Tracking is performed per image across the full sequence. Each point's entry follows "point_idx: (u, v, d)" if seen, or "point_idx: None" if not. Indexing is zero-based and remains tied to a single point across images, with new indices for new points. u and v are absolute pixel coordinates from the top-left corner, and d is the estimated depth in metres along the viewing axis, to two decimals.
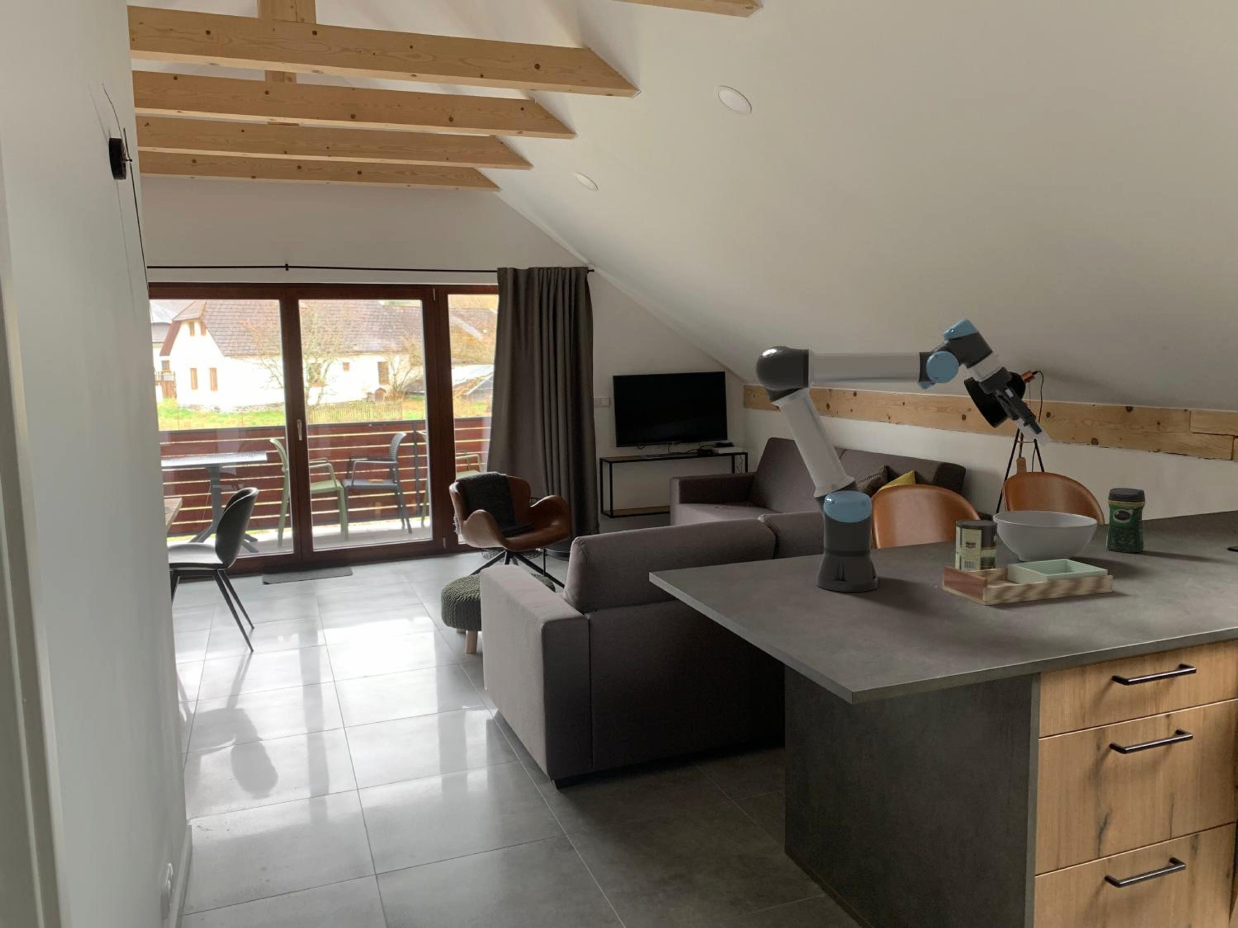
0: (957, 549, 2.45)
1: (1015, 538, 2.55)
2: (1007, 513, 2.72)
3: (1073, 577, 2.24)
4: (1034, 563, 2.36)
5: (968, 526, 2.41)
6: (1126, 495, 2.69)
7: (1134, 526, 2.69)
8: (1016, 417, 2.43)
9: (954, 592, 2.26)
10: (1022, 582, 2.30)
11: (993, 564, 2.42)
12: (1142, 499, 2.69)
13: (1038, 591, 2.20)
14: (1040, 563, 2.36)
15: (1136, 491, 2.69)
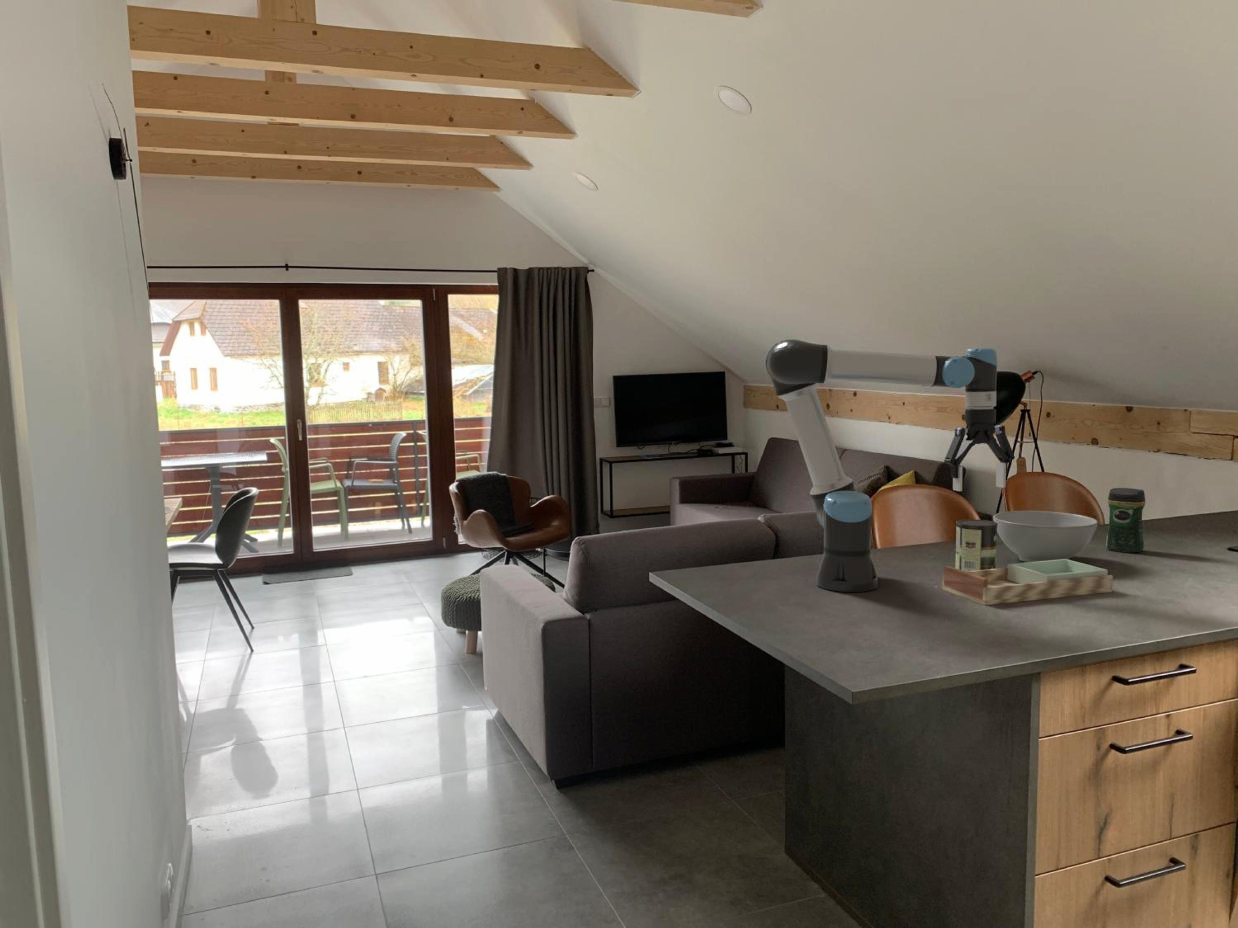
0: (957, 549, 2.45)
1: (1015, 538, 2.55)
2: (1007, 513, 2.72)
3: (1073, 577, 2.24)
4: (1034, 563, 2.36)
5: (968, 526, 2.41)
6: (1126, 495, 2.69)
7: (1134, 526, 2.69)
8: (1001, 460, 2.45)
9: (954, 592, 2.26)
10: (1022, 582, 2.30)
11: (993, 564, 2.42)
12: (1142, 499, 2.69)
13: (1038, 591, 2.20)
14: (1040, 563, 2.36)
15: (1136, 491, 2.69)
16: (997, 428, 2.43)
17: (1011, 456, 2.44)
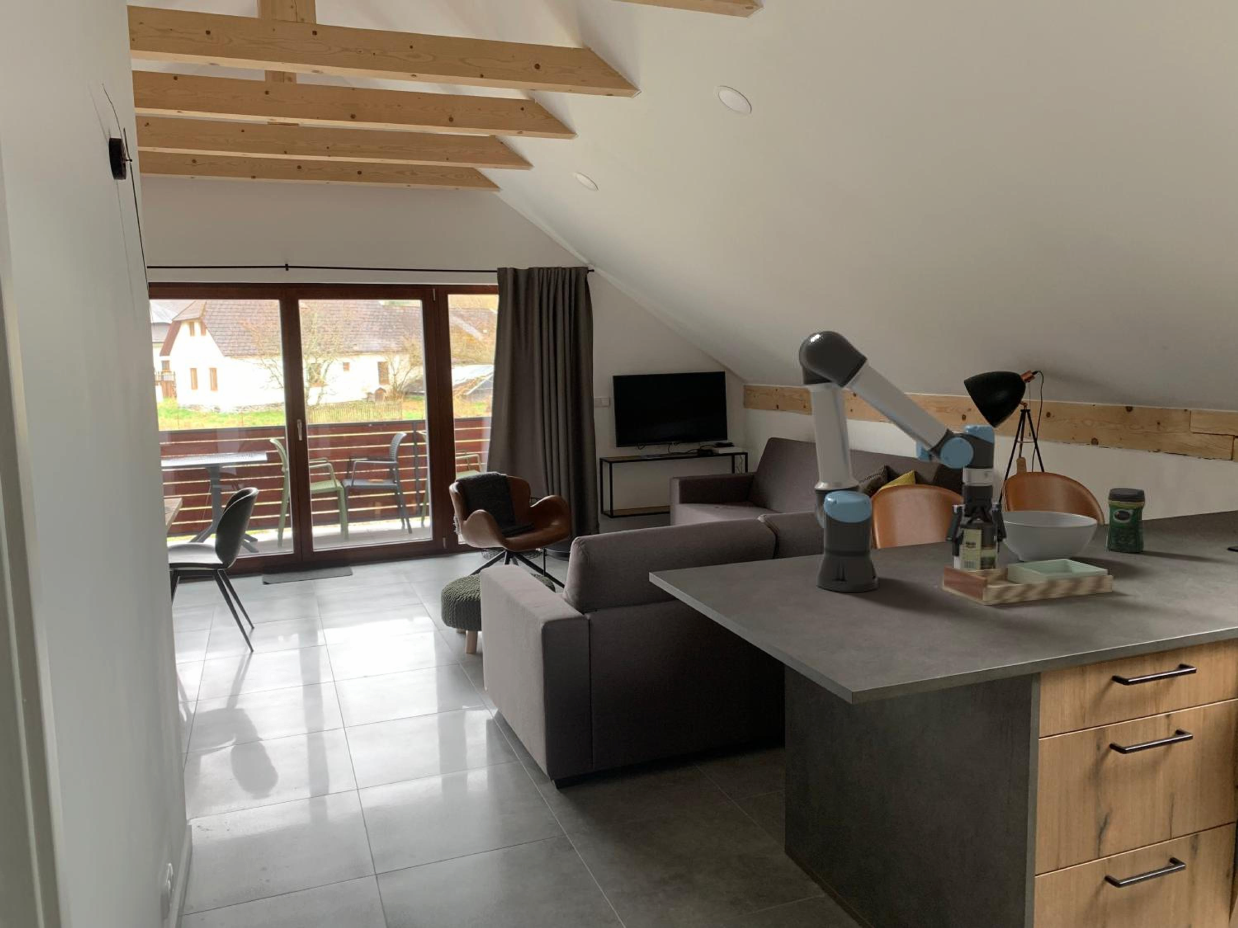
0: None
1: (1015, 538, 2.55)
2: (1007, 513, 2.72)
3: (1073, 577, 2.24)
4: (1034, 563, 2.36)
5: (968, 526, 2.41)
6: (1126, 495, 2.69)
7: (1134, 526, 2.69)
8: None
9: (954, 592, 2.26)
10: (1022, 582, 2.30)
11: (993, 564, 2.42)
12: (1142, 499, 2.69)
13: (1038, 591, 2.20)
14: (1040, 563, 2.36)
15: (1136, 491, 2.69)
16: (994, 505, 2.45)
17: (1003, 535, 2.46)
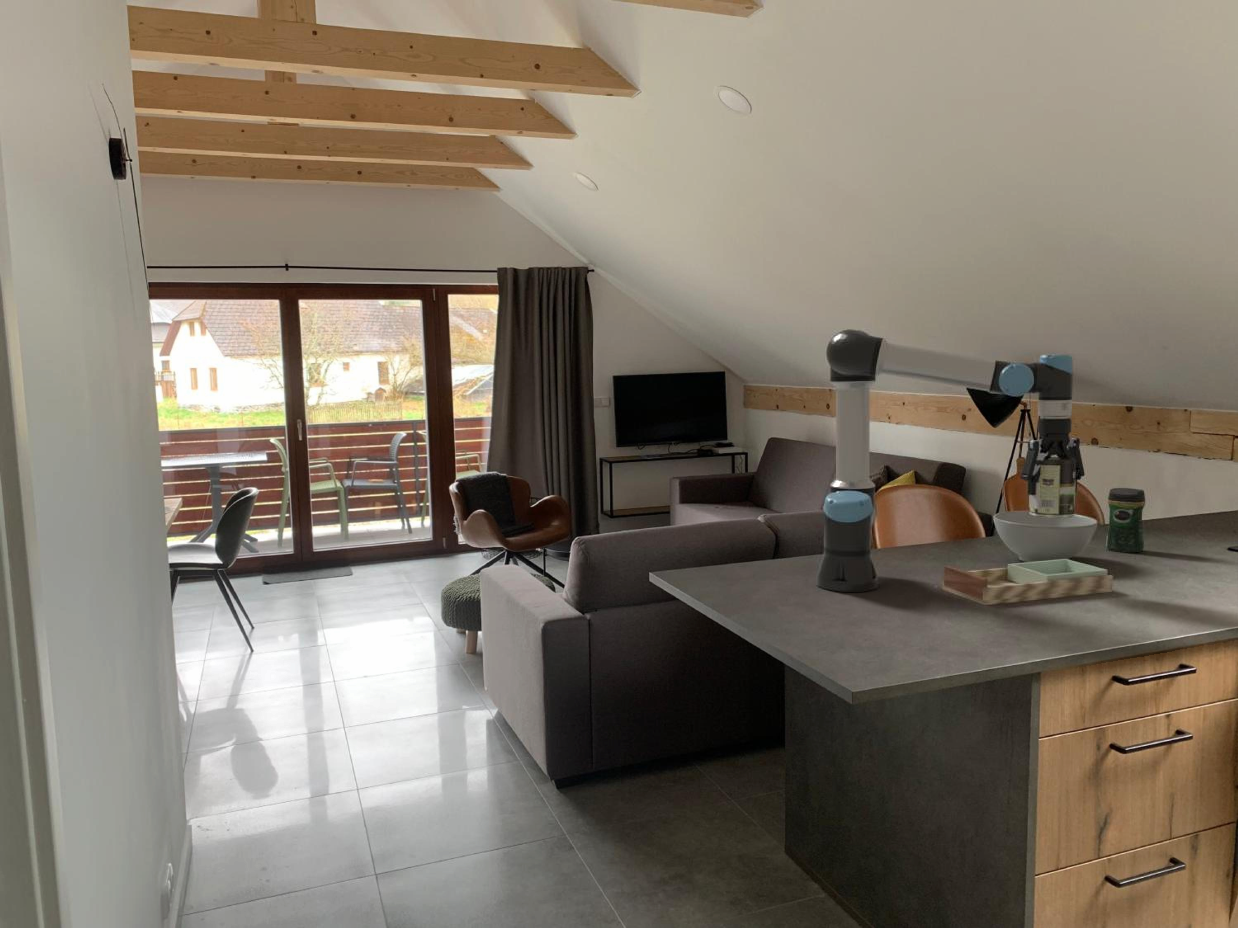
0: None
1: (1015, 538, 2.55)
2: (1007, 513, 2.72)
3: (1073, 577, 2.24)
4: (1034, 563, 2.36)
5: (1045, 462, 2.25)
6: (1126, 495, 2.69)
7: (1134, 526, 2.69)
8: None
9: (954, 592, 2.26)
10: (1022, 582, 2.30)
11: (1072, 502, 2.26)
12: (1142, 499, 2.69)
13: (1038, 591, 2.20)
14: (1040, 563, 2.36)
15: (1136, 491, 2.69)
16: (1071, 440, 2.30)
17: (1081, 472, 2.31)
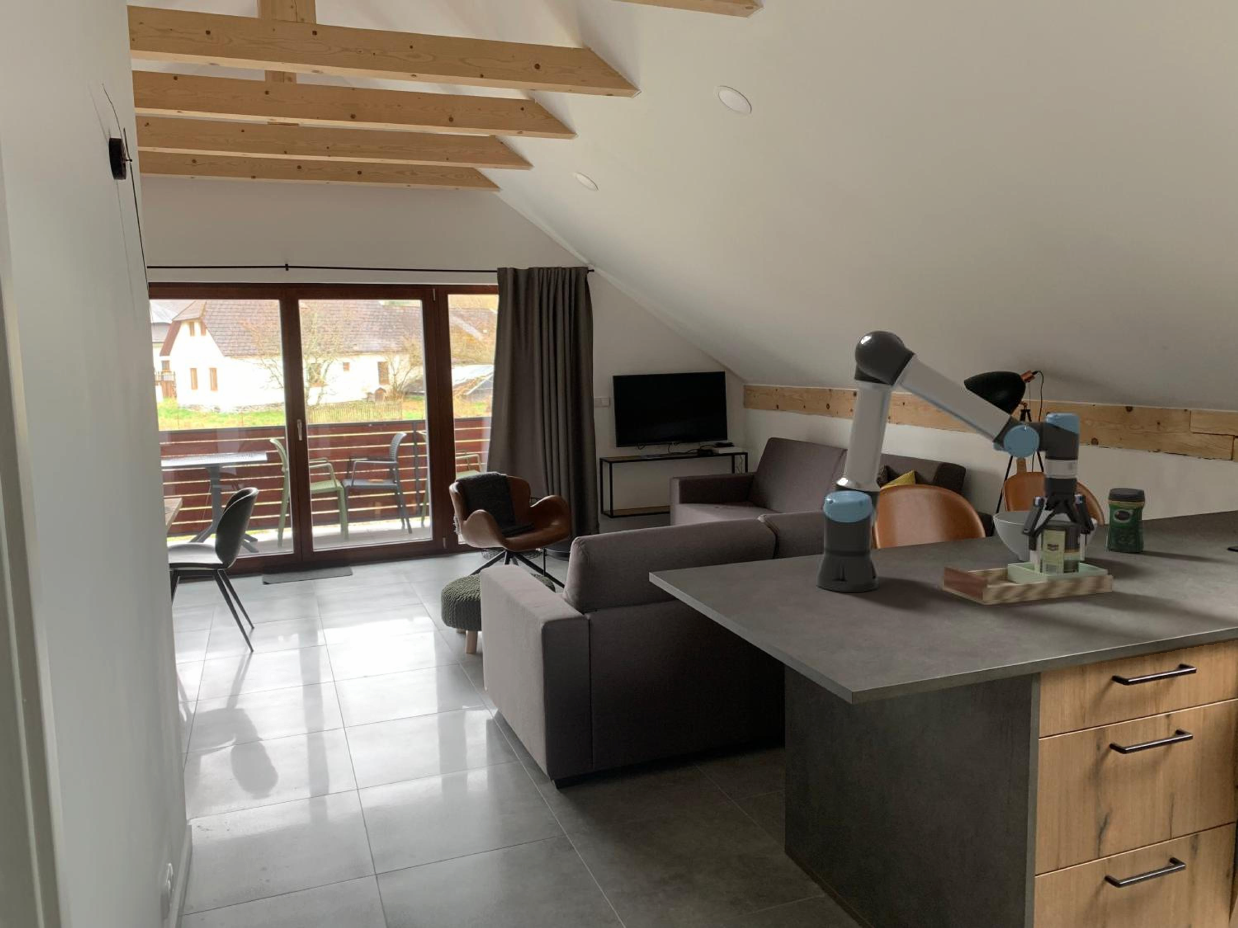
0: None
1: (1015, 538, 2.55)
2: (1007, 513, 2.72)
3: (1072, 577, 2.24)
4: None
5: (1050, 527, 2.26)
6: (1126, 495, 2.69)
7: (1134, 526, 2.69)
8: None
9: (954, 592, 2.26)
10: (1022, 582, 2.30)
11: (1077, 568, 2.27)
12: (1142, 499, 2.69)
13: (1038, 591, 2.20)
14: None
15: (1136, 491, 2.69)
16: (1077, 497, 2.30)
17: (1091, 527, 2.31)
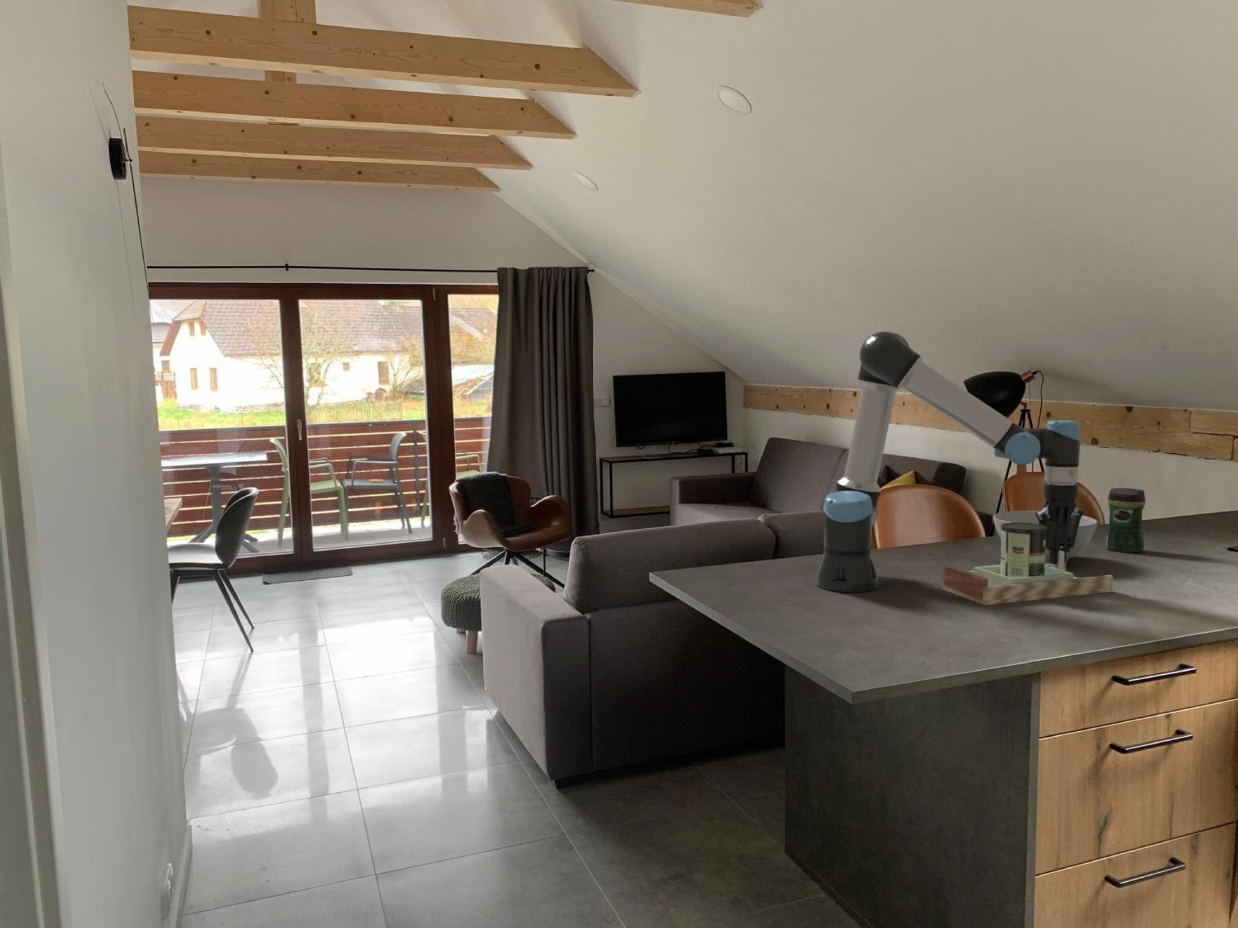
0: (1003, 555, 2.27)
1: None
2: (1007, 513, 2.72)
3: (1038, 580, 2.21)
4: (1000, 566, 2.33)
5: (1015, 530, 2.23)
6: (1126, 495, 2.69)
7: (1134, 526, 2.69)
8: (1059, 548, 2.31)
9: (954, 592, 2.26)
10: None
11: (1042, 571, 2.24)
12: (1142, 499, 2.69)
13: (1038, 591, 2.20)
14: None
15: (1136, 491, 2.69)
16: (1076, 509, 2.30)
17: (1071, 543, 2.30)
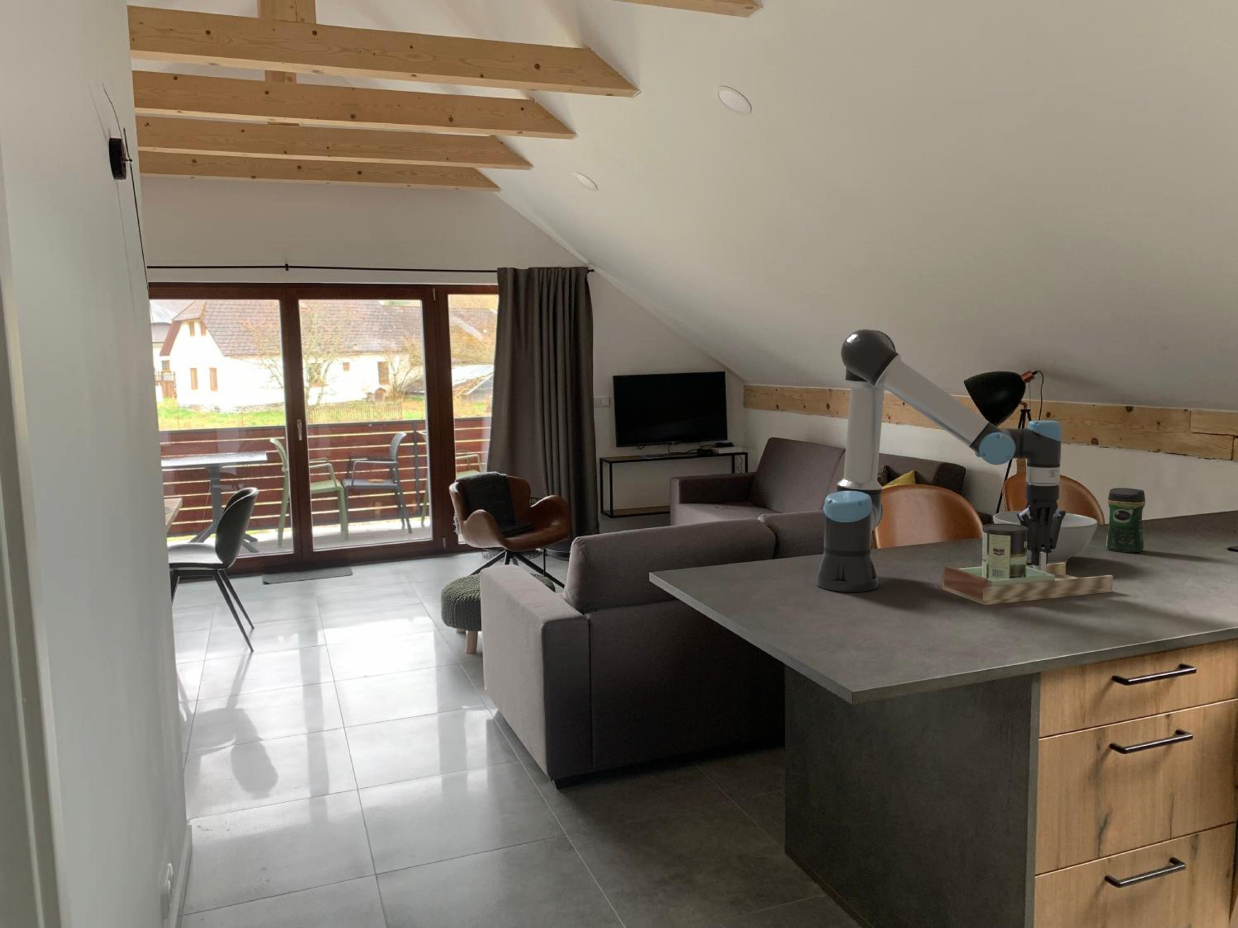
0: (984, 556, 2.25)
1: None
2: (1007, 513, 2.72)
3: (1019, 582, 2.19)
4: None
5: (996, 531, 2.21)
6: (1126, 495, 2.69)
7: (1134, 526, 2.69)
8: (1041, 549, 2.29)
9: (954, 592, 2.26)
10: None
11: (1023, 572, 2.22)
12: (1142, 499, 2.69)
13: (1038, 591, 2.20)
14: None
15: (1136, 491, 2.69)
16: (1058, 510, 2.28)
17: (1053, 544, 2.28)
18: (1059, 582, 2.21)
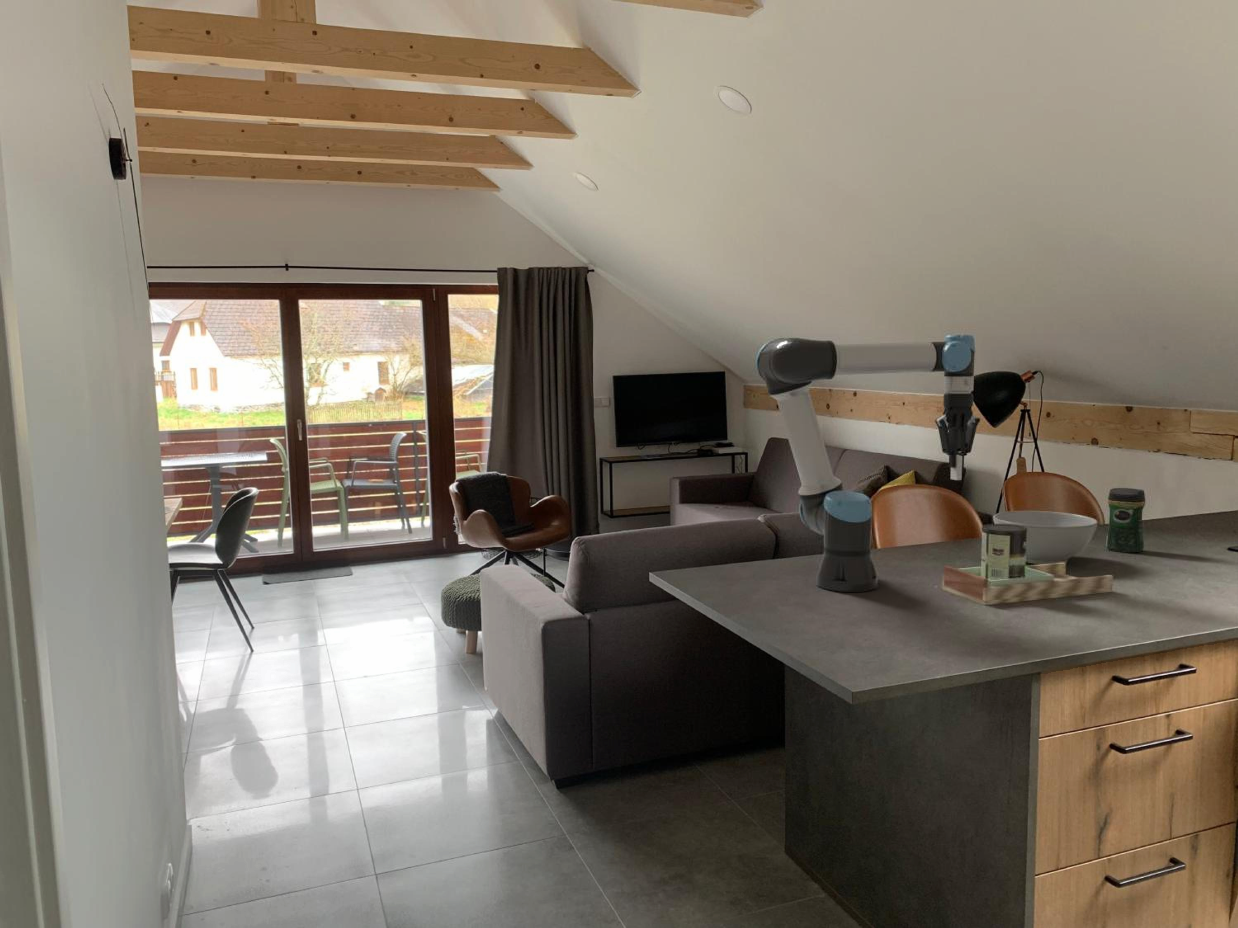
0: (983, 556, 2.25)
1: None
2: (1007, 513, 2.72)
3: (1018, 582, 2.19)
4: None
5: (995, 531, 2.21)
6: (1126, 495, 2.69)
7: (1134, 526, 2.69)
8: (958, 453, 2.51)
9: (954, 592, 2.26)
10: None
11: (1022, 573, 2.22)
12: (1142, 499, 2.69)
13: (1038, 591, 2.20)
14: None
15: (1136, 491, 2.69)
16: (973, 417, 2.51)
17: (968, 448, 2.51)
18: (1059, 582, 2.21)
